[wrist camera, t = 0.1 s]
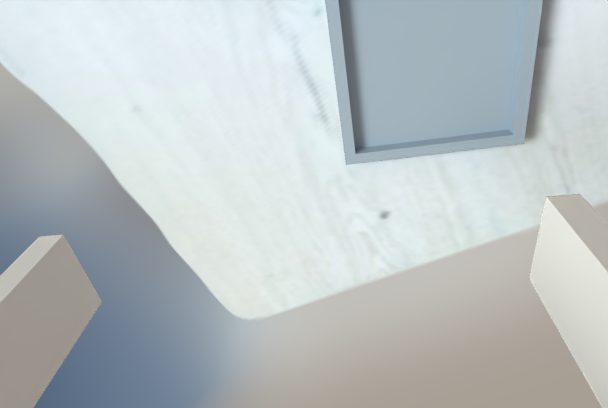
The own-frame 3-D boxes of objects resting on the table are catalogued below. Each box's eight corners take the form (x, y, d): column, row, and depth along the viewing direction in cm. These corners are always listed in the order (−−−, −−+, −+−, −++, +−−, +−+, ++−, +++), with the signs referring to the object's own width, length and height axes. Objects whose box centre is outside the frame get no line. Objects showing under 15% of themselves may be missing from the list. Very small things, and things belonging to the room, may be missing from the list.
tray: (322, -27, 32) (321, -25, 30) (540, -68, 30) (551, -68, 28) (345, 156, 40) (346, 164, 39) (516, 135, 38) (524, 143, 36)
